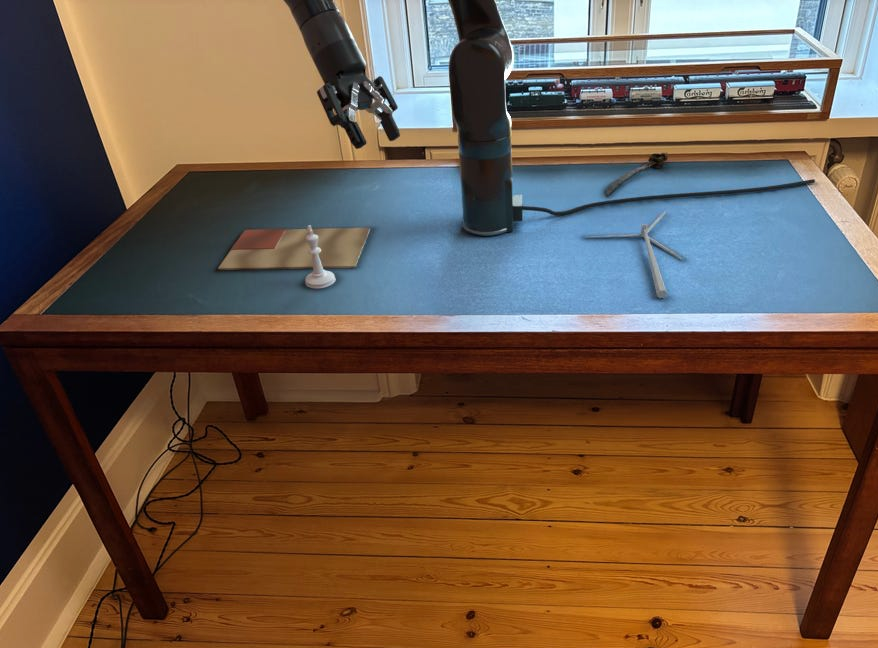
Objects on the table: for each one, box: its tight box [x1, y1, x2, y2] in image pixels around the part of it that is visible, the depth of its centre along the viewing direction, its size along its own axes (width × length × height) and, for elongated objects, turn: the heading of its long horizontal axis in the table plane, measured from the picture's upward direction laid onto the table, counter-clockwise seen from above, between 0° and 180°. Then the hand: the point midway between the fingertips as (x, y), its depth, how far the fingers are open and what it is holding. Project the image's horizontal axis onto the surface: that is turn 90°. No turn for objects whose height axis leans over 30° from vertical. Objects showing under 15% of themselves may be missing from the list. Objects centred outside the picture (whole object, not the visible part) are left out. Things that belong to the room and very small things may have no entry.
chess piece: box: [304, 224, 336, 290], centre depth 116 cm, size 5×5×10 cm
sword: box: [604, 151, 669, 197], centre depth 149 cm, size 25×4×2 cm, turn 137°
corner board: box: [217, 227, 372, 271], centre depth 129 cm, size 24×15×1 cm, turn 87°
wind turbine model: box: [584, 210, 683, 299], centre depth 122 cm, size 16×2×30 cm
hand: (379, 142), depth 118 cm, fingers open, 8 cm apart
